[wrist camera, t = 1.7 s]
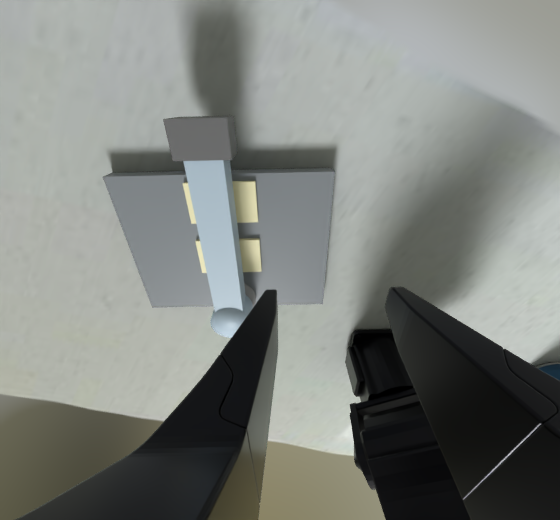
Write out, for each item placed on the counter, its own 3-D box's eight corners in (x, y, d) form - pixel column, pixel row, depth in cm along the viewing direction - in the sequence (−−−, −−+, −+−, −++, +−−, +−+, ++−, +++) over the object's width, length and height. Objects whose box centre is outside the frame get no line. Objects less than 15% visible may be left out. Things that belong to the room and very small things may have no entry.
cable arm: (254, 317, 23) (251, 338, 21) (219, 318, 23) (213, 339, 21) (233, 115, 15) (226, 117, 13) (179, 116, 15) (163, 119, 13)
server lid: (331, 167, 18) (337, 174, 17) (320, 301, 25) (323, 316, 23) (112, 172, 18) (95, 179, 17) (159, 305, 25) (151, 319, 24)
